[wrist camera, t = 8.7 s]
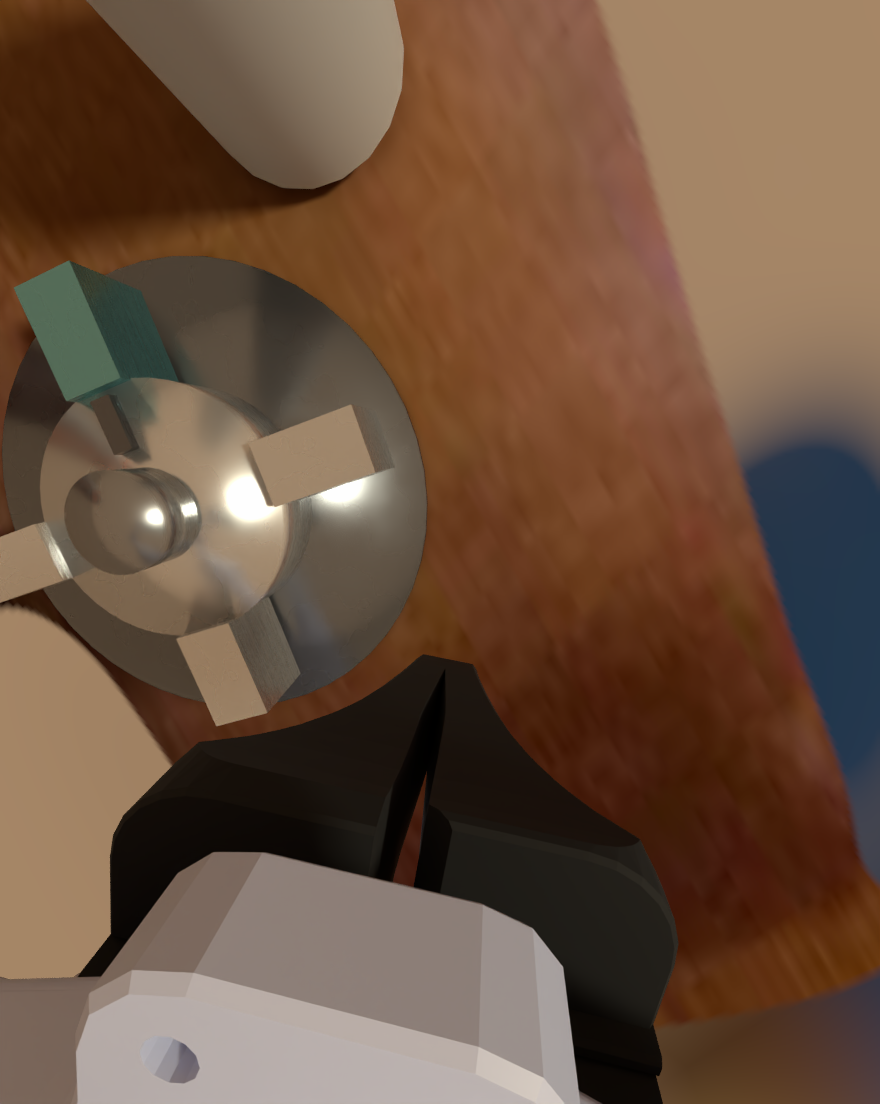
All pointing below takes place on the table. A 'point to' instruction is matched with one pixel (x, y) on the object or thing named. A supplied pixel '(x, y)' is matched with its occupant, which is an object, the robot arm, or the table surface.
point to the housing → (167, 506)
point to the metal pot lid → (202, 467)
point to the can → (275, 76)
